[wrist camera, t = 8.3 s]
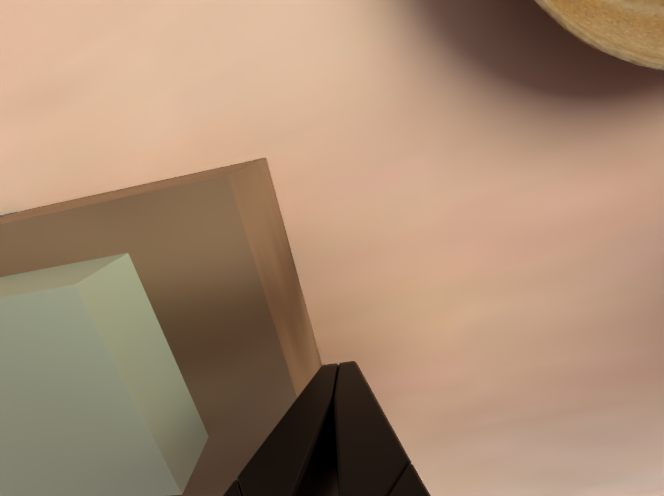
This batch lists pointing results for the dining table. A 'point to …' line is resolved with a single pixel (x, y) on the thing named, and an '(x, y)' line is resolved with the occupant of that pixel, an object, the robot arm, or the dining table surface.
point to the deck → (198, 294)
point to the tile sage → (90, 387)
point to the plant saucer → (615, 27)
